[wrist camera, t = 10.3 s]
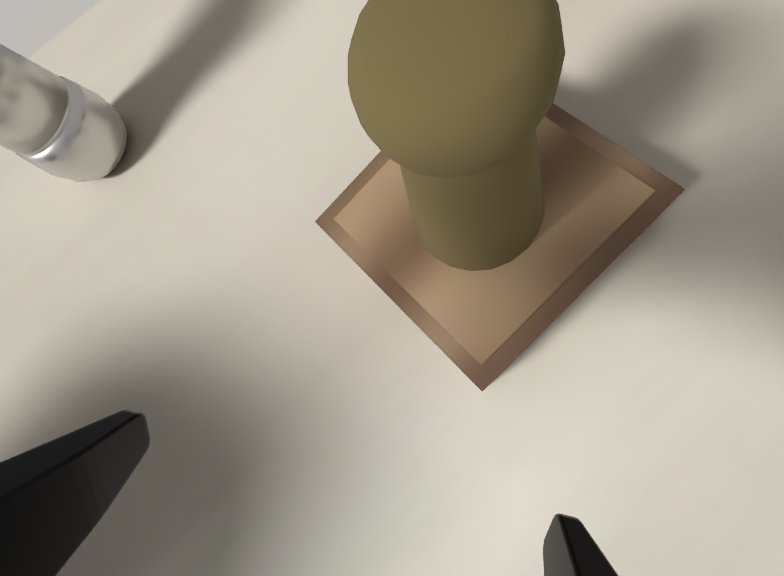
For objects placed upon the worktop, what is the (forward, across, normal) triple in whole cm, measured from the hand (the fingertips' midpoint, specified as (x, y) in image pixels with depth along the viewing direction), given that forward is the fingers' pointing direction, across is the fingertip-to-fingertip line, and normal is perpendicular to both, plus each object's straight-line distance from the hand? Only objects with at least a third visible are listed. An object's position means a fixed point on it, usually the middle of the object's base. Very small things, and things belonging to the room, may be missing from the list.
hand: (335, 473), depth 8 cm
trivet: (+16, -3, -2) cm, 16 cm away
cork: (+13, -2, -3) cm, 14 cm away
